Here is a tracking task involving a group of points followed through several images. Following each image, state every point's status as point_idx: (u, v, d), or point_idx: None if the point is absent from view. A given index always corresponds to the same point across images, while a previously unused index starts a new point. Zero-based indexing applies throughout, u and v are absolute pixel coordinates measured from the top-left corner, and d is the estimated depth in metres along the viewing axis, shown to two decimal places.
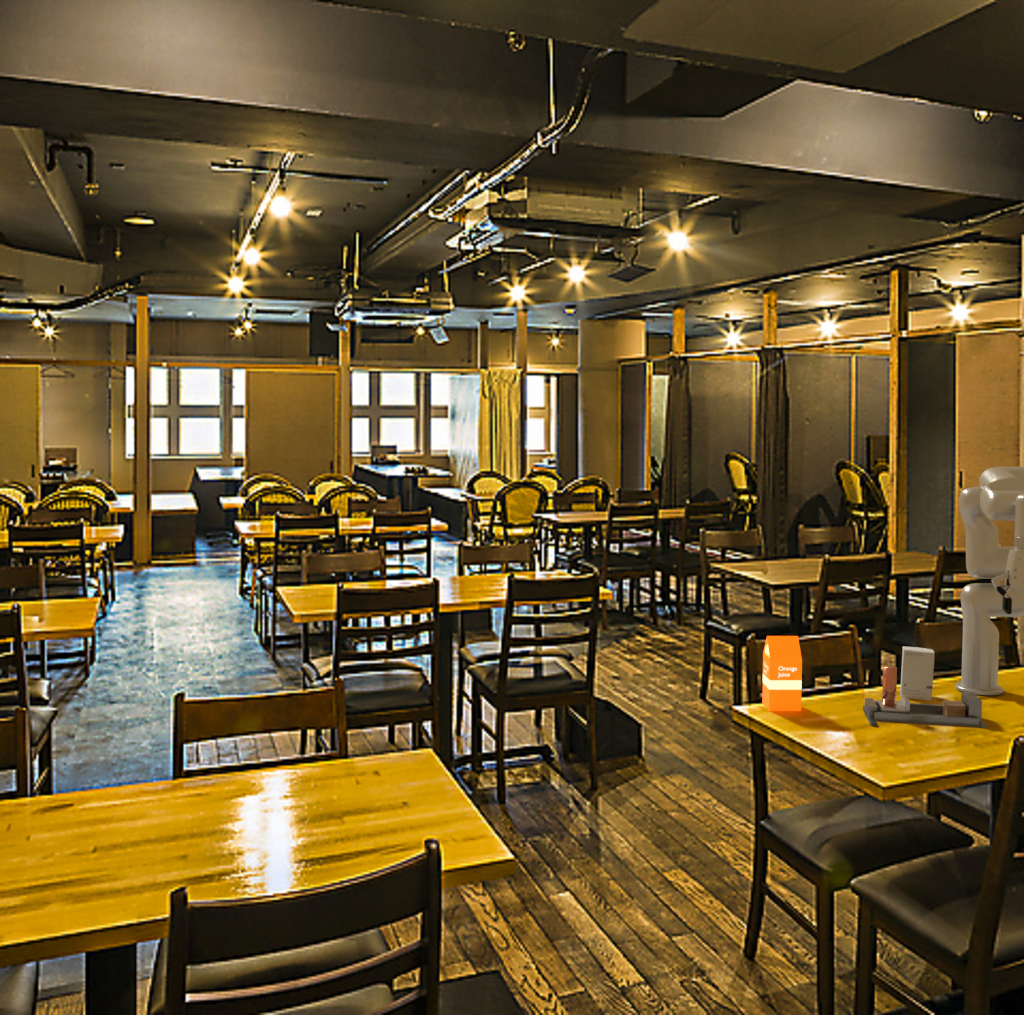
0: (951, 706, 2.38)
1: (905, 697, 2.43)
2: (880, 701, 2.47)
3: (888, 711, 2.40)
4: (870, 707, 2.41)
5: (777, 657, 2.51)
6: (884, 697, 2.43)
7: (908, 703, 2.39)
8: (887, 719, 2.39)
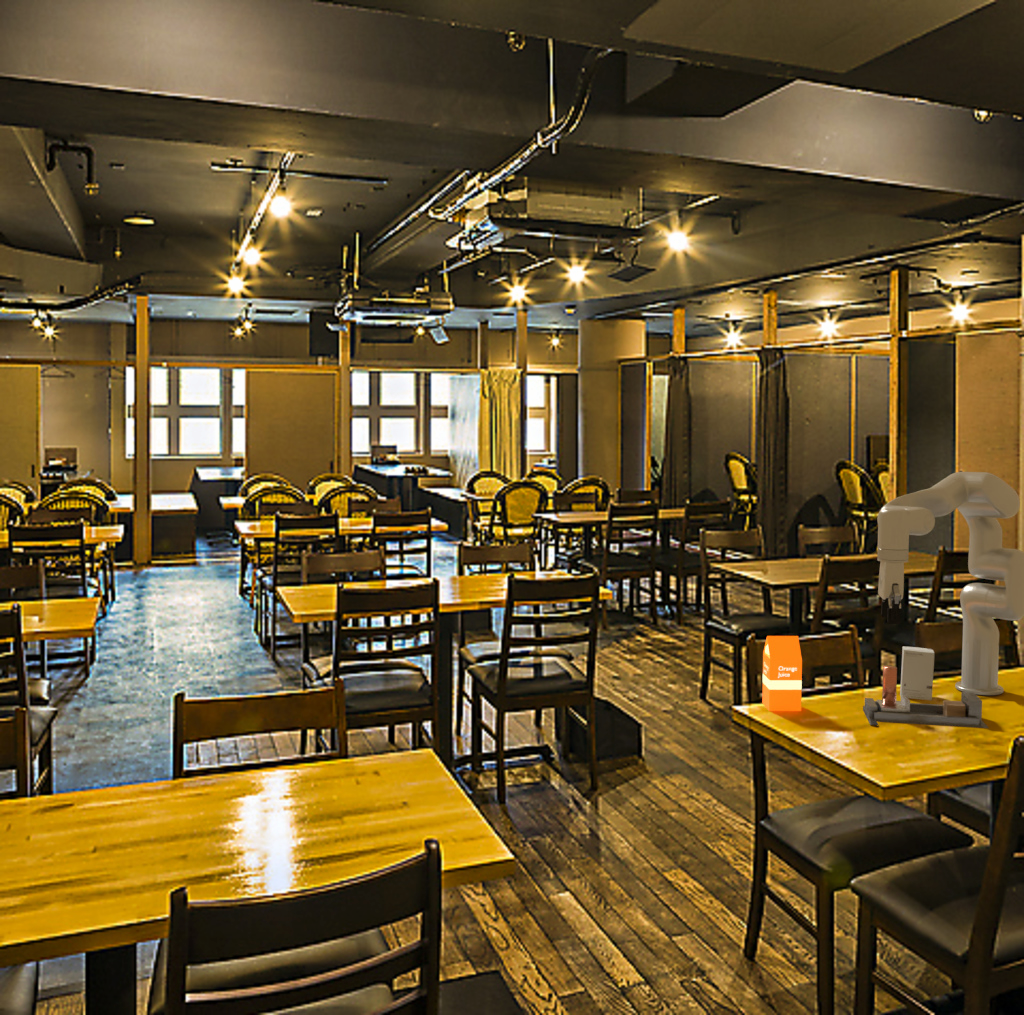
0: (951, 706, 2.38)
1: (905, 697, 2.43)
2: (880, 701, 2.47)
3: (888, 711, 2.40)
4: (870, 707, 2.41)
5: (777, 657, 2.51)
6: (884, 697, 2.43)
7: (908, 703, 2.39)
8: (887, 719, 2.39)
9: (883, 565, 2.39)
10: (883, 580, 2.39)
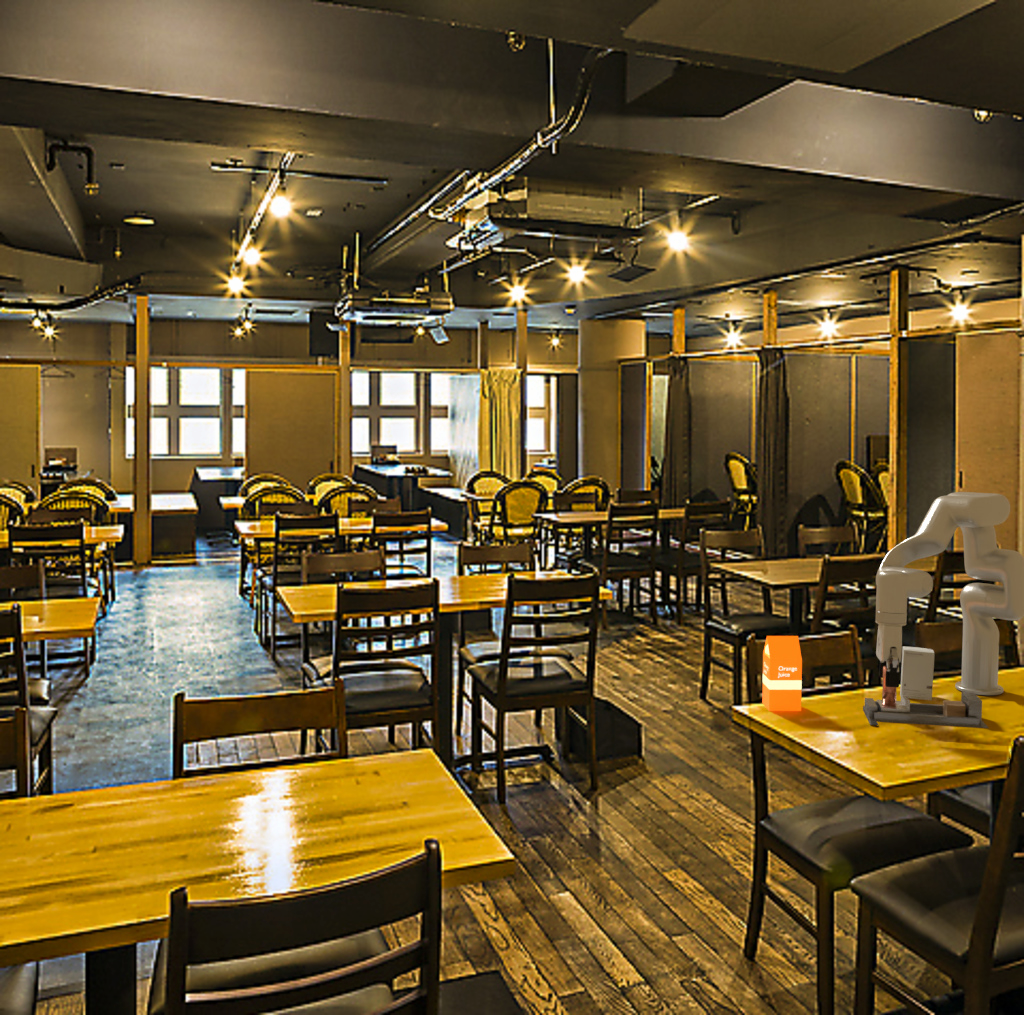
0: (951, 706, 2.38)
1: (905, 697, 2.43)
2: (880, 701, 2.47)
3: (888, 711, 2.40)
4: (870, 707, 2.41)
5: (777, 657, 2.51)
6: (884, 697, 2.43)
7: (908, 703, 2.39)
8: (887, 719, 2.39)
9: (881, 628, 2.40)
10: (881, 643, 2.40)
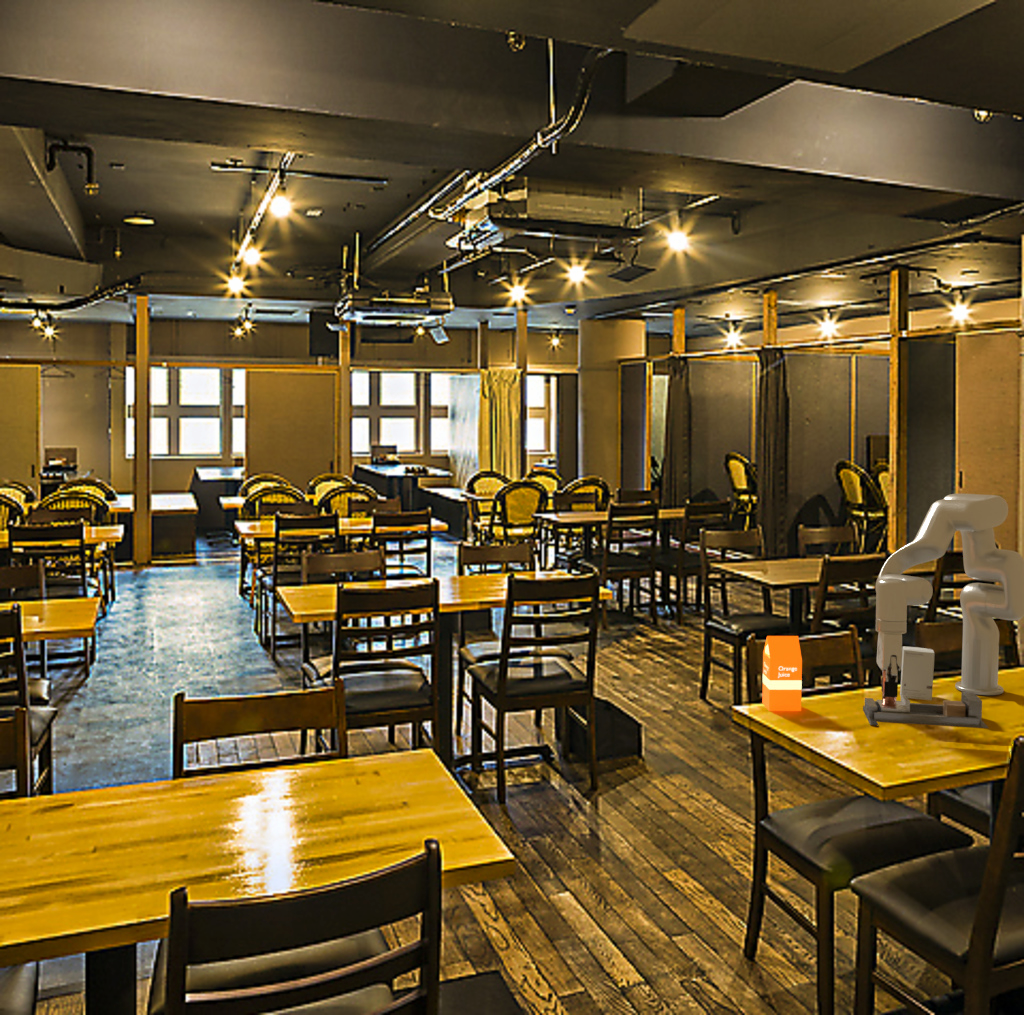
0: (951, 706, 2.38)
1: (905, 697, 2.43)
2: (880, 701, 2.47)
3: (888, 711, 2.40)
4: (870, 707, 2.41)
5: (777, 657, 2.51)
6: (884, 697, 2.43)
7: (908, 703, 2.39)
8: (887, 719, 2.39)
9: (881, 636, 2.41)
10: (881, 651, 2.40)
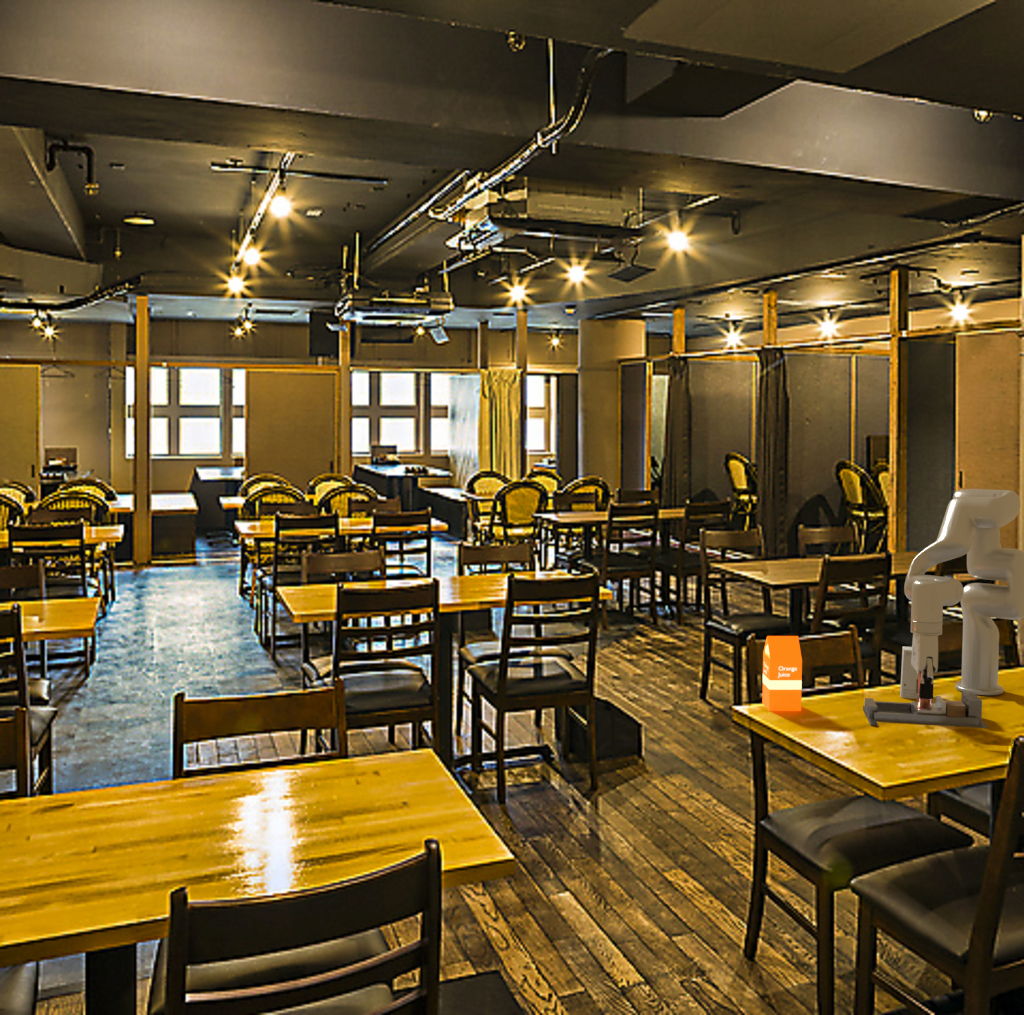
0: (951, 706, 2.38)
1: (940, 699, 2.41)
2: (915, 703, 2.45)
3: (924, 713, 2.38)
4: (870, 707, 2.41)
5: (777, 657, 2.51)
6: (919, 699, 2.41)
7: (944, 705, 2.37)
8: (887, 719, 2.39)
9: (917, 637, 2.39)
10: (917, 653, 2.38)
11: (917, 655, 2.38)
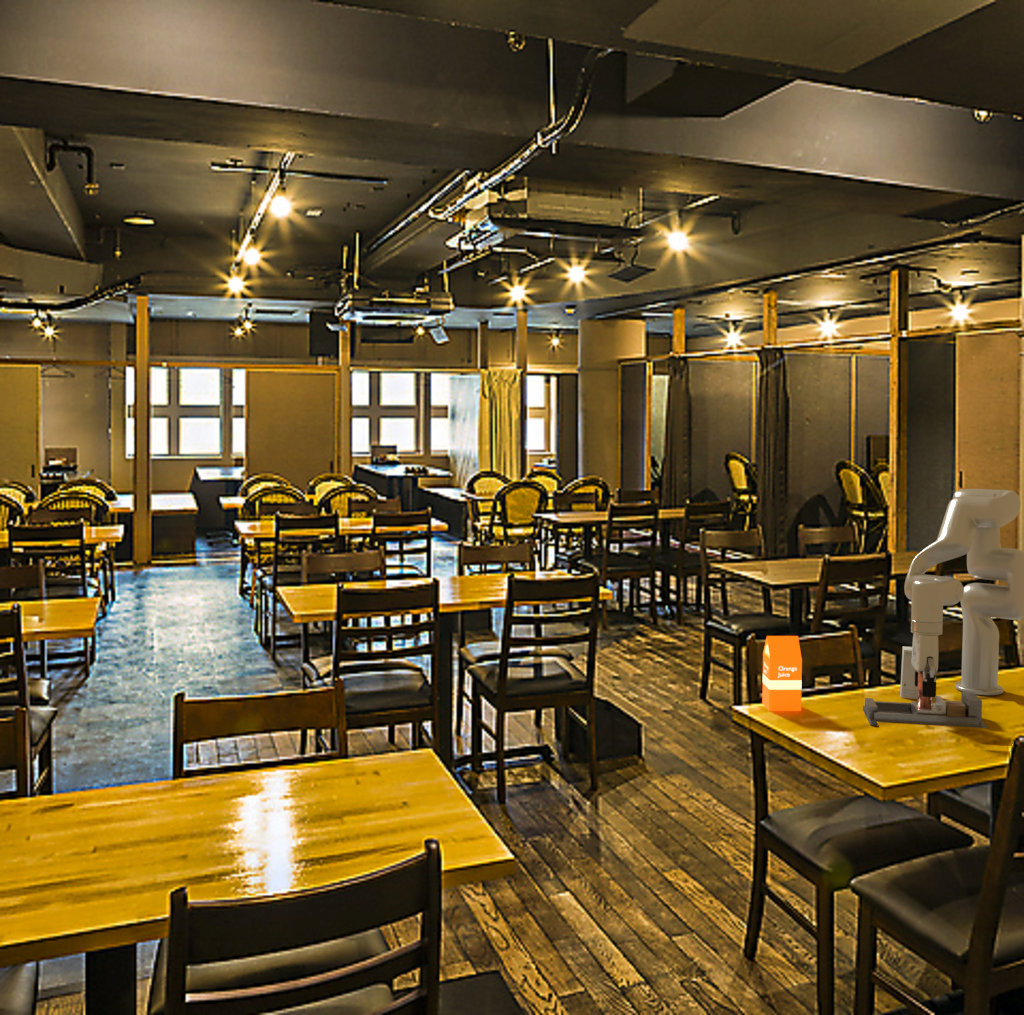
0: (951, 706, 2.38)
1: (941, 699, 2.41)
2: (915, 703, 2.45)
3: (924, 713, 2.38)
4: (870, 707, 2.41)
5: (777, 657, 2.51)
6: (919, 699, 2.41)
7: (944, 705, 2.37)
8: (887, 719, 2.39)
9: (917, 637, 2.39)
10: (917, 653, 2.38)
11: (917, 655, 2.38)
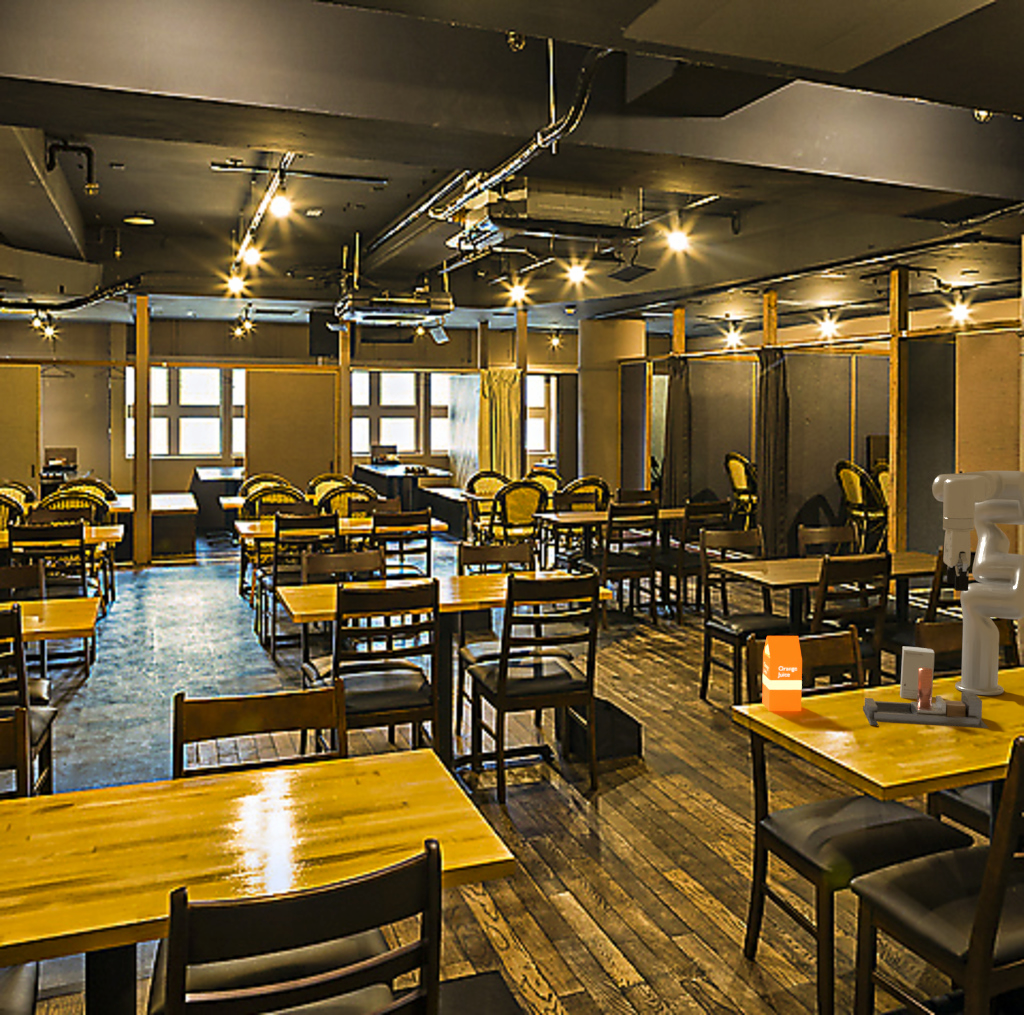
0: (951, 706, 2.38)
1: (941, 699, 2.41)
2: (915, 703, 2.45)
3: (924, 713, 2.38)
4: (870, 707, 2.41)
5: (777, 657, 2.51)
6: (919, 699, 2.41)
7: (944, 705, 2.37)
8: (887, 719, 2.39)
9: (949, 534, 2.45)
10: (950, 548, 2.44)
11: (950, 551, 2.44)
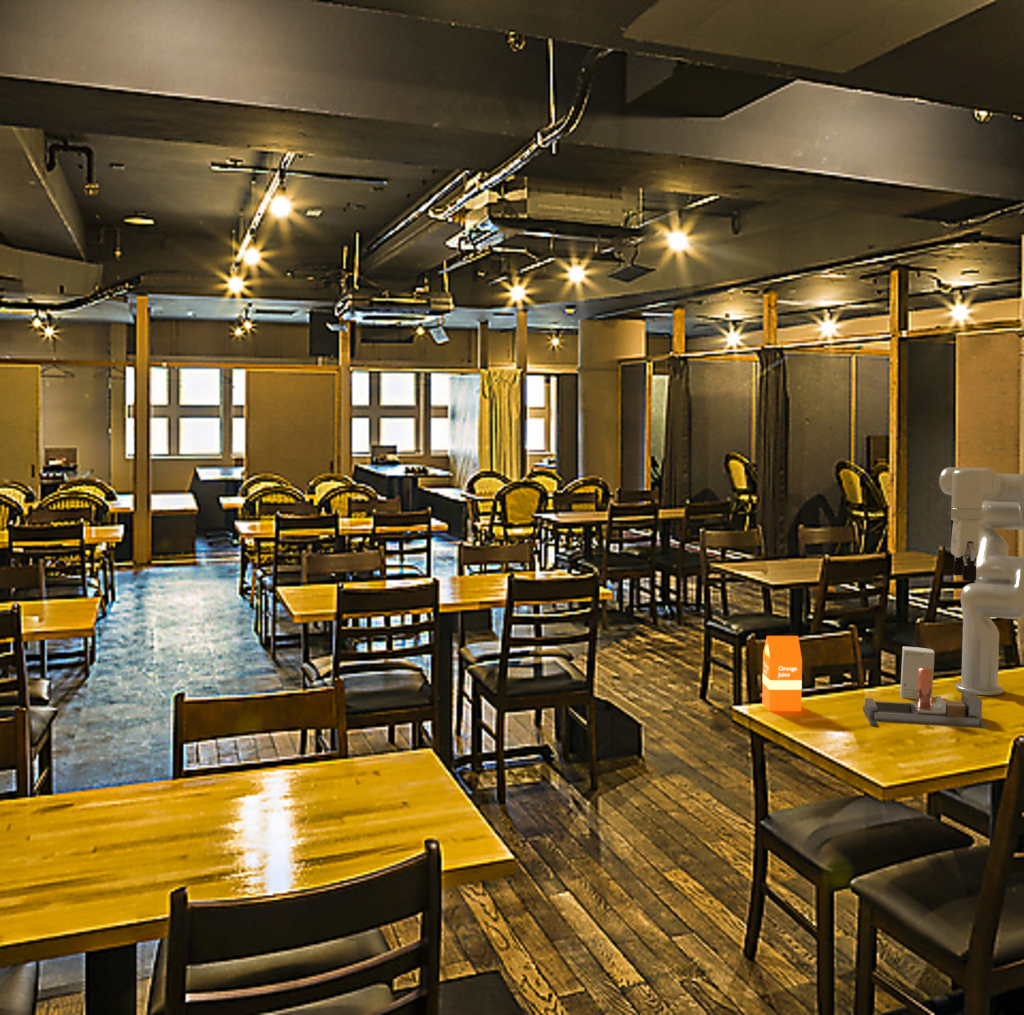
0: (951, 706, 2.38)
1: (941, 699, 2.41)
2: (915, 703, 2.45)
3: (924, 713, 2.38)
4: (870, 707, 2.41)
5: (777, 657, 2.51)
6: (919, 699, 2.41)
7: (944, 705, 2.37)
8: (887, 719, 2.39)
9: (957, 524, 2.47)
10: (958, 538, 2.46)
11: (958, 541, 2.46)
